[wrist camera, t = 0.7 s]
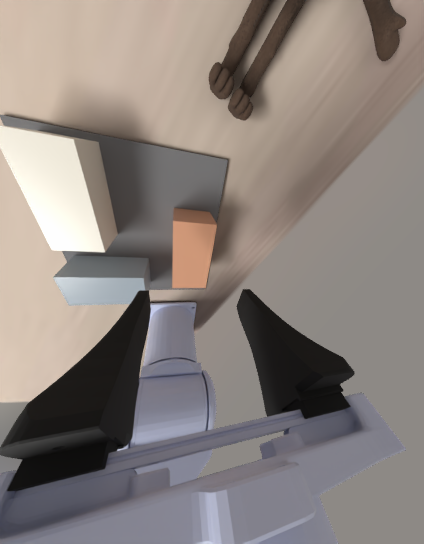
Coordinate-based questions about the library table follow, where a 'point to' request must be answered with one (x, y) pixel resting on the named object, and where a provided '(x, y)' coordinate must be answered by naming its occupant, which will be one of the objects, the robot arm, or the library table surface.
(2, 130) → the cream brick
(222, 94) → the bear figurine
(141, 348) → the robot arm
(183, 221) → the terracotta brick
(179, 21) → the library table surface
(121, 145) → the charcoal mat
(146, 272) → the slate brick
